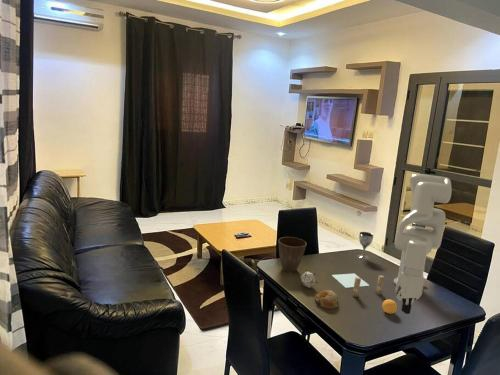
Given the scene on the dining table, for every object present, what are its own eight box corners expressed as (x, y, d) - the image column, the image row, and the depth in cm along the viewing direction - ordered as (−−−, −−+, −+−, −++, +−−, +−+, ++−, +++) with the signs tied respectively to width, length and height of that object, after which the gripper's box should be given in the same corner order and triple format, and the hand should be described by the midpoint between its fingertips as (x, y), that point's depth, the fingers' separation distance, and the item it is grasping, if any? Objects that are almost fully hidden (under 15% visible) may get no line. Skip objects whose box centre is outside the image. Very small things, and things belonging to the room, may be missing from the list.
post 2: (379, 292, 182) (382, 275, 180) (382, 294, 179) (385, 277, 177) (374, 292, 181) (377, 275, 179) (378, 295, 179) (380, 278, 177)
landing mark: (354, 273, 201) (354, 273, 201) (369, 285, 188) (369, 285, 188) (331, 275, 196) (331, 275, 196) (345, 287, 184) (345, 287, 183)
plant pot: (286, 261, 210) (289, 234, 207) (308, 270, 201) (311, 242, 197) (270, 268, 199) (272, 240, 195) (293, 278, 189) (296, 249, 186)
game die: (305, 295, 180) (300, 284, 174) (299, 282, 187) (294, 271, 181) (322, 288, 180) (317, 276, 174) (315, 275, 187) (310, 263, 181)
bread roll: (332, 317, 163) (342, 304, 160) (312, 305, 163) (322, 291, 161) (332, 306, 172) (341, 293, 170) (313, 294, 173) (322, 281, 171)
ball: (389, 308, 167) (391, 296, 166) (398, 315, 161) (400, 303, 160) (378, 309, 165) (380, 297, 164) (387, 317, 160) (389, 304, 158)
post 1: (356, 294, 178) (358, 277, 176) (359, 297, 175) (361, 279, 173) (351, 294, 177) (354, 277, 175) (354, 297, 175) (357, 279, 173)
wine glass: (361, 253, 231) (364, 231, 227) (372, 258, 225) (376, 234, 222) (353, 256, 226) (357, 233, 222) (364, 261, 220) (368, 237, 216)
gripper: (421, 266, 155) (413, 306, 158) (391, 267, 150) (384, 308, 154) (434, 273, 148) (426, 315, 151) (404, 275, 143) (396, 318, 147)
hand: (405, 312), depth 153 cm, fingers closed
